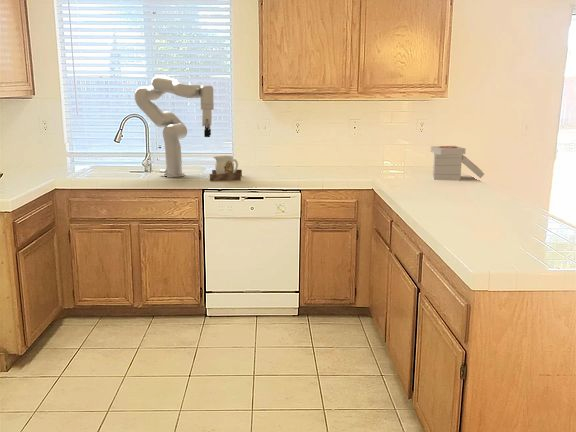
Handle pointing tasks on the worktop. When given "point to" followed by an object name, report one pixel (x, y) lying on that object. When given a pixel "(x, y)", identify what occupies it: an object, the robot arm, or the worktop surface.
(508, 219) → the worktop surface
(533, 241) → the worktop surface
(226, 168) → the pitcher
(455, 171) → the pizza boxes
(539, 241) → the worktop surface
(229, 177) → the wooden planks
